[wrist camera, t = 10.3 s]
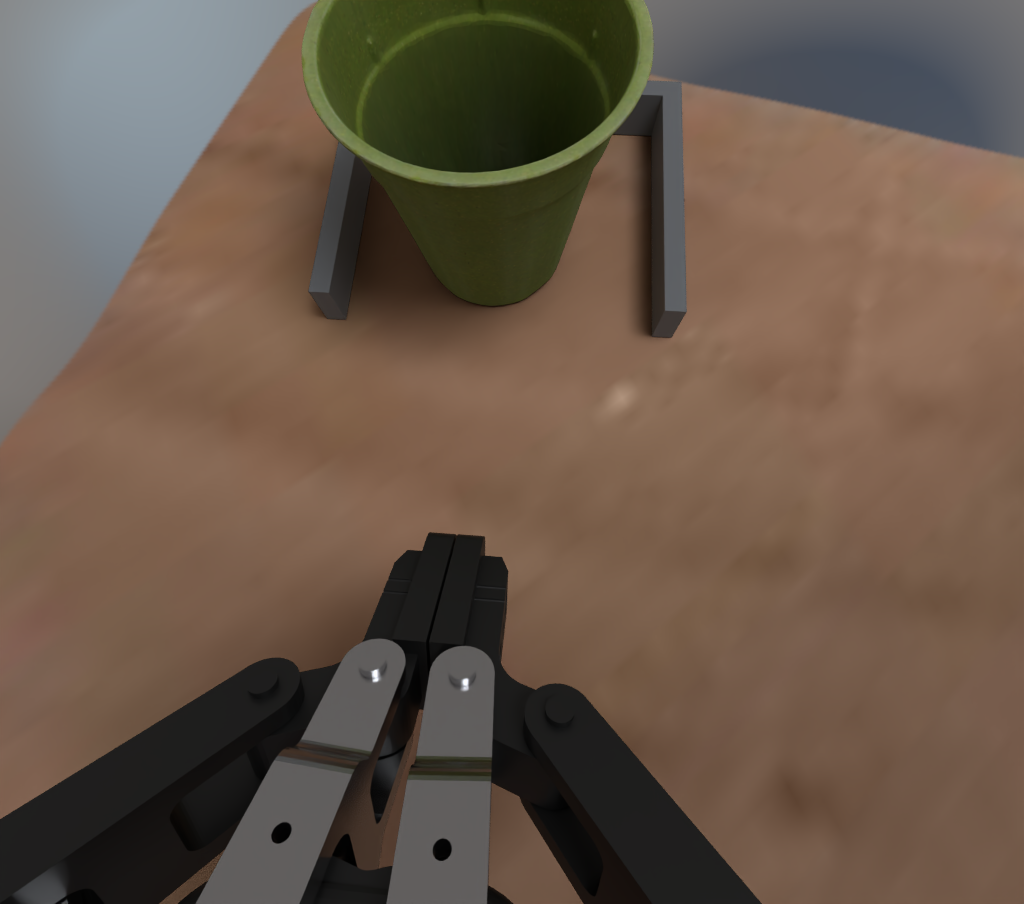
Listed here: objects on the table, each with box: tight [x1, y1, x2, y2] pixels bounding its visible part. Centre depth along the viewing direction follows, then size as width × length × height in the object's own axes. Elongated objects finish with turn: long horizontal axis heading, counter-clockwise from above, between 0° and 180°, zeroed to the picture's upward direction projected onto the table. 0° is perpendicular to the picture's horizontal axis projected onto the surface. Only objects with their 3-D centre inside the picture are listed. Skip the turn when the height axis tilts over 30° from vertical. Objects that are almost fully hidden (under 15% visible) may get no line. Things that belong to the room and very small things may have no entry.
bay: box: [308, 81, 687, 338], centre depth 27 cm, size 18×14×2 cm
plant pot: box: [302, 0, 654, 306], centre depth 23 cm, size 12×12×11 cm
